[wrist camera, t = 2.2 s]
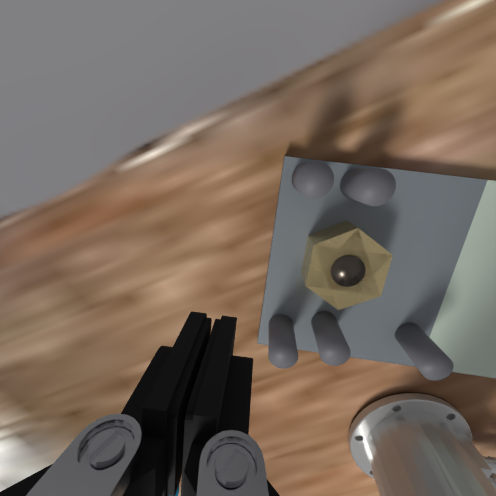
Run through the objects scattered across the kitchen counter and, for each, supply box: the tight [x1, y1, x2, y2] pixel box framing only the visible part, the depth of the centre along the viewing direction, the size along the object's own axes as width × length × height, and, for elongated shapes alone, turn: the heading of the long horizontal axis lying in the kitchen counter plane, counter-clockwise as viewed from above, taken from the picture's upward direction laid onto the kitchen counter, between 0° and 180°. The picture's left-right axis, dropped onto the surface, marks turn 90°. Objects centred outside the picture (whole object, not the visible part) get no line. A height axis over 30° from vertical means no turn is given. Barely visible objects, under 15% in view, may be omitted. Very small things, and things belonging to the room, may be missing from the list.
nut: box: [301, 221, 393, 310], centre depth 22 cm, size 6×7×3 cm
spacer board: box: [257, 156, 496, 380], centre depth 22 cm, size 34×18×6 cm, turn 84°
